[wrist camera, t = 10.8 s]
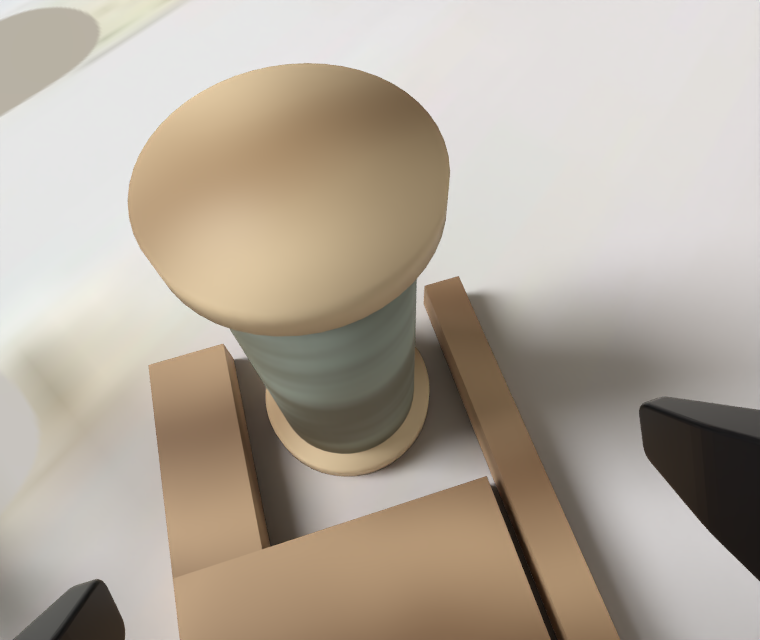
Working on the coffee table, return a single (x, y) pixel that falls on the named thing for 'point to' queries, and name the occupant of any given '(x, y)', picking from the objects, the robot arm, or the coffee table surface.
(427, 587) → the wooden plank structure
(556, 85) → the coffee table surface
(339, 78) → the cord spool
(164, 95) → the coffee table surface
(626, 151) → the coffee table surface
